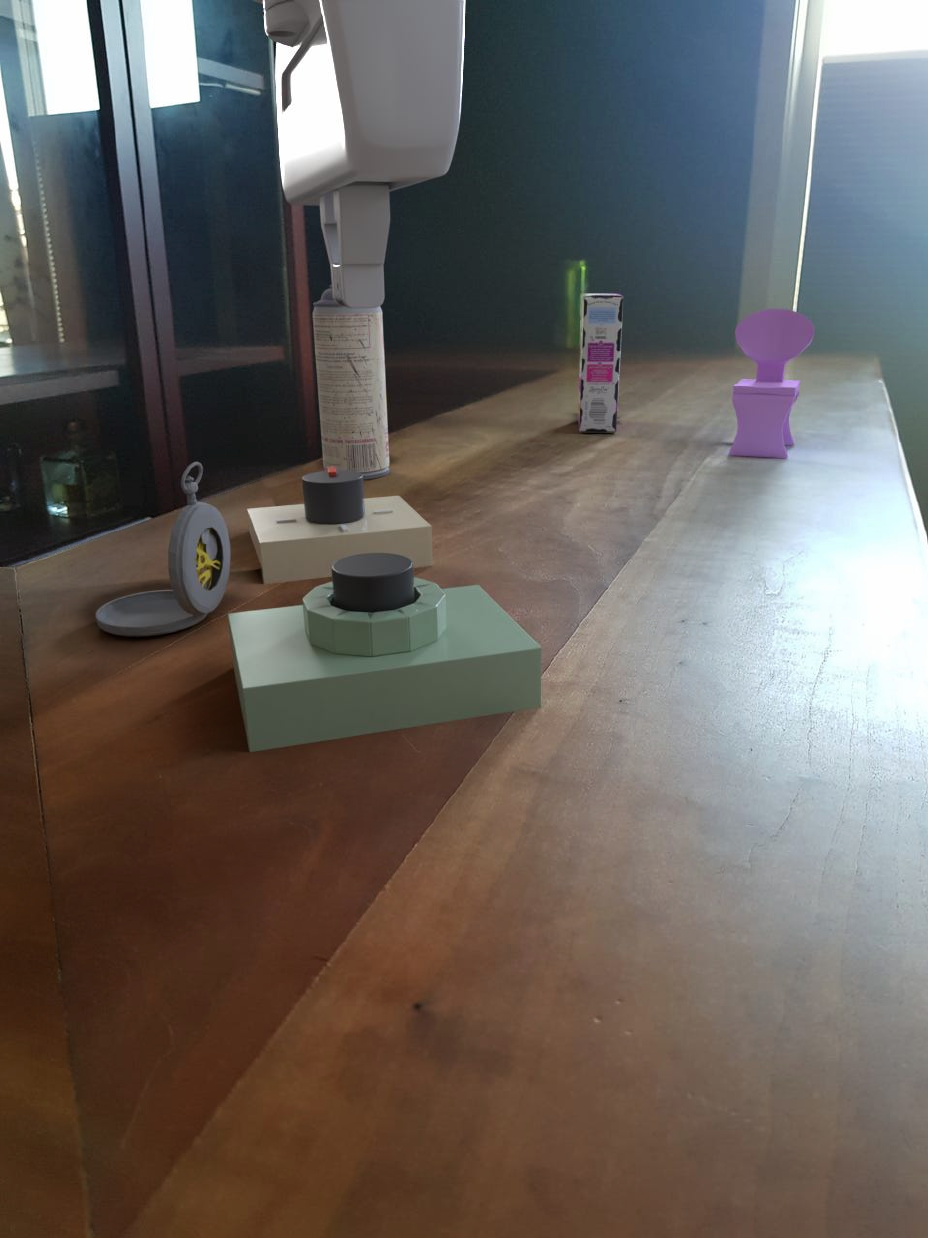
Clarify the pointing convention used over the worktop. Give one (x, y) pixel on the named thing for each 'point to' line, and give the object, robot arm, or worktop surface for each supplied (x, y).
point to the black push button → (373, 582)
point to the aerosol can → (351, 387)
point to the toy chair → (768, 381)
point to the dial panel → (335, 538)
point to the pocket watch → (179, 575)
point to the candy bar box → (599, 362)
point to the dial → (333, 496)
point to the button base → (379, 665)
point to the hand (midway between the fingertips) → (358, 307)
